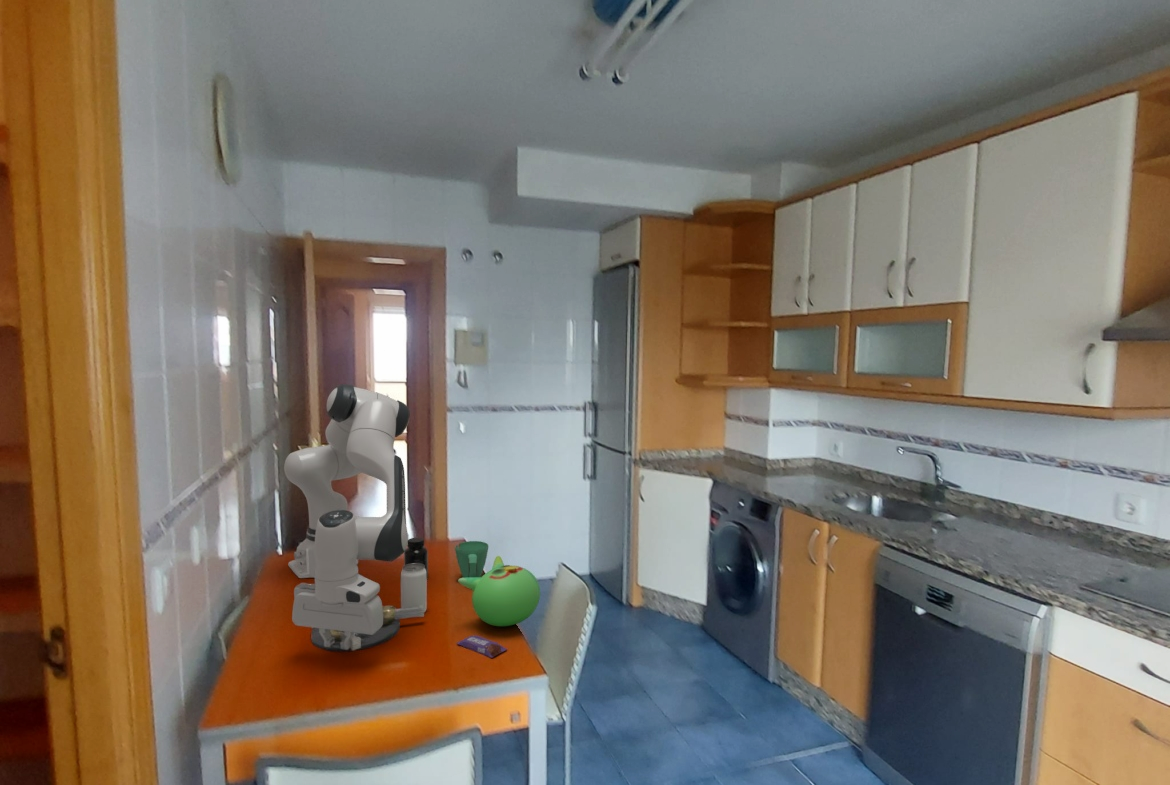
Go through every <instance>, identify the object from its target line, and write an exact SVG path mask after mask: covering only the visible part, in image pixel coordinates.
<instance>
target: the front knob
mask: <svg viewBox="0 0 1170 785" xmlns="http://www.w3.org/2000/svg"><path fill="white" fill-rule="evenodd" d="M330 634H331V636H332V637H335V640H334V641H343V640H344V639H345V638H346V637H347V636H345V631H337V630H330ZM359 648H361V638H360V637H357V636H355V635H354V636H353V637H352V639H351V649H352V650H356V649H359ZM356 651H357V650H356Z"/></svg>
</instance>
